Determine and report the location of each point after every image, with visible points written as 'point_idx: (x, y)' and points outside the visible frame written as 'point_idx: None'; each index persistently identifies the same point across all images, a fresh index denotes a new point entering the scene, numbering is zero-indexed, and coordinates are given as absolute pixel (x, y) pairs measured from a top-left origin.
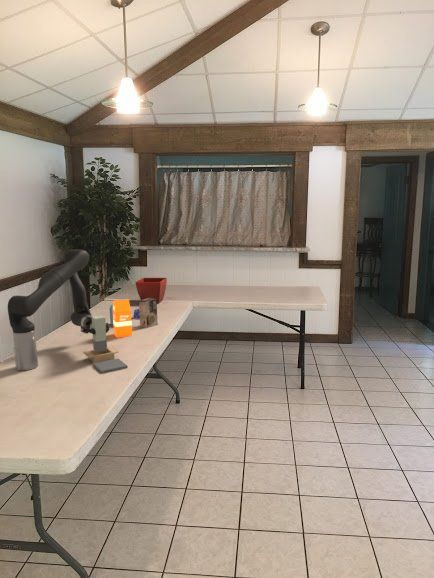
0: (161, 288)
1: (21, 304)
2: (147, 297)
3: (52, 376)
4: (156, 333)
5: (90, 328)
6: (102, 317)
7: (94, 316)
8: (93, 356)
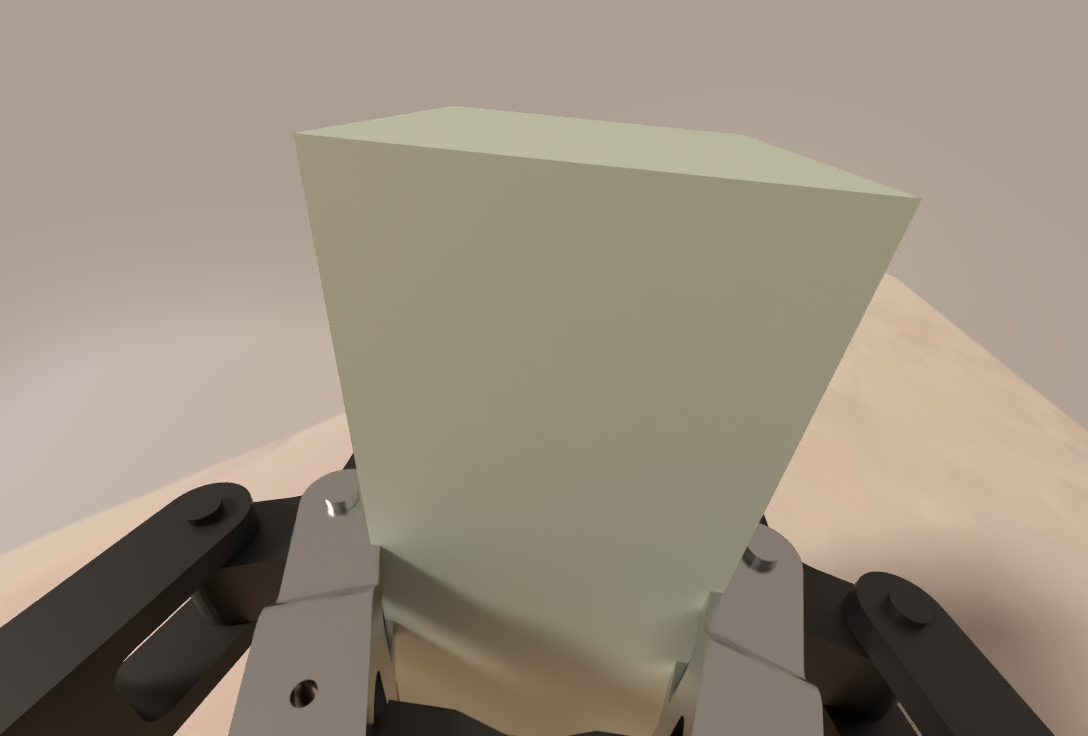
0: None
1: None
2: None
3: (992, 594)
4: None
5: (779, 535)
6: (509, 115)
7: (743, 175)
8: None
